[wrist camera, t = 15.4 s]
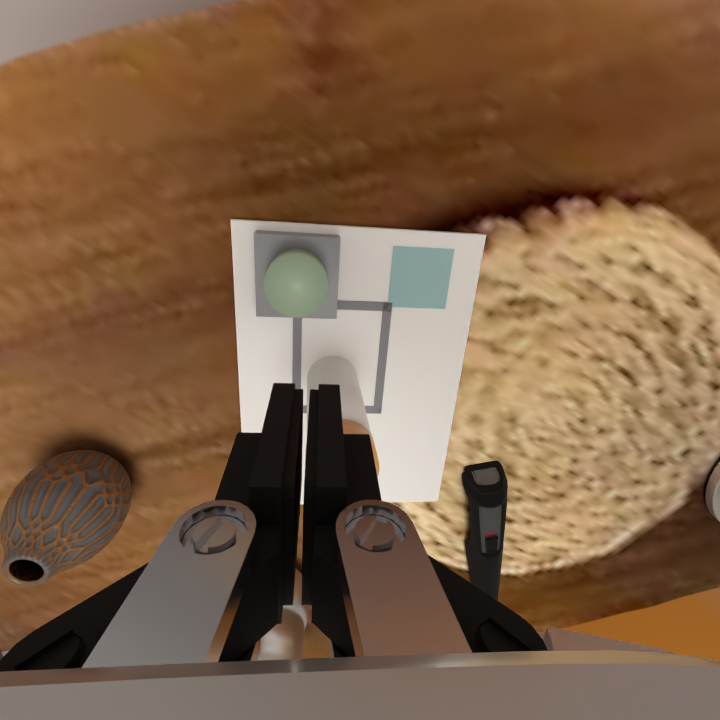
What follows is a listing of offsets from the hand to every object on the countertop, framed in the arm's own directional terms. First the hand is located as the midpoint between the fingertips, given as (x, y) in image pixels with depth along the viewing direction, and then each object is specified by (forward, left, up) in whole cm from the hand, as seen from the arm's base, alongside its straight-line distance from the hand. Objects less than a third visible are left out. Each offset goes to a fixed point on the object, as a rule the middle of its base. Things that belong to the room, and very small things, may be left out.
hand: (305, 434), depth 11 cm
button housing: (+1, 0, -18) cm, 18 cm away
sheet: (-3, +8, -18) cm, 20 cm away
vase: (+16, +16, -19) cm, 29 cm away
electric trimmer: (-16, +22, -19) cm, 34 cm away
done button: (+1, 0, -16) cm, 16 cm away
